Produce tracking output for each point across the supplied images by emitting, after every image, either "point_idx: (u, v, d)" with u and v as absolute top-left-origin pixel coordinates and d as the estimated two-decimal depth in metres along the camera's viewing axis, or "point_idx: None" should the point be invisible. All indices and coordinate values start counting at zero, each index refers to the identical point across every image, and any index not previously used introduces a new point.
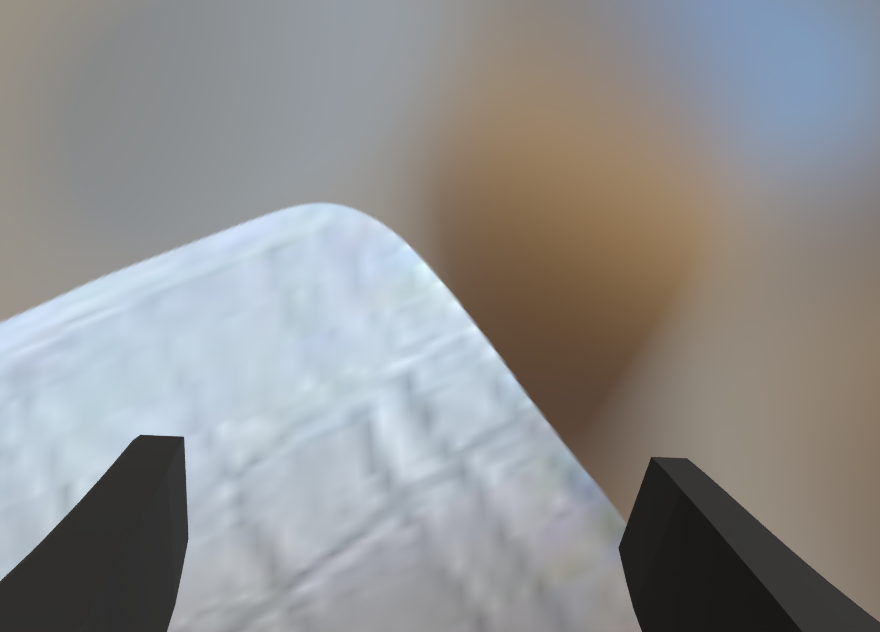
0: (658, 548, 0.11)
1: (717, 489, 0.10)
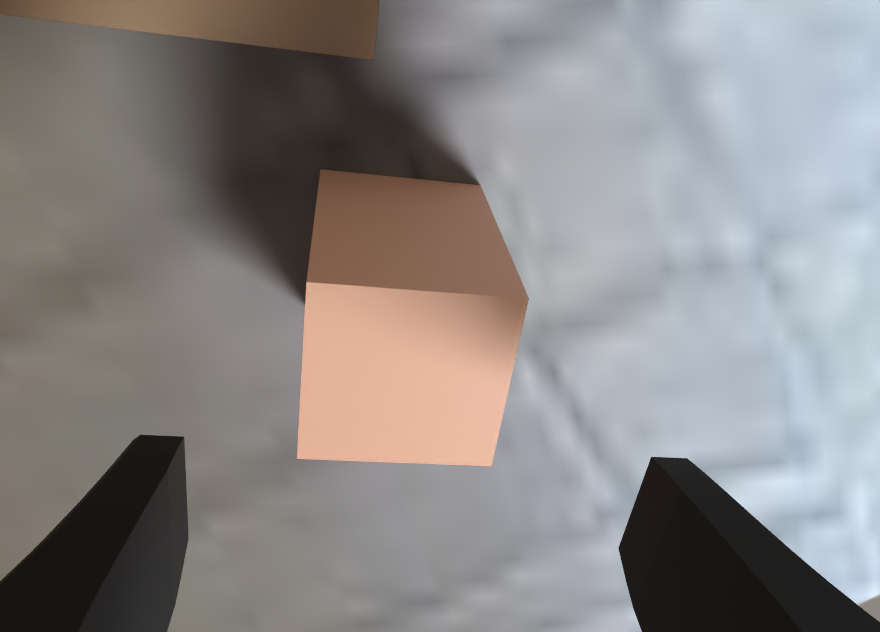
0: (658, 548, 0.11)
1: (717, 489, 0.10)
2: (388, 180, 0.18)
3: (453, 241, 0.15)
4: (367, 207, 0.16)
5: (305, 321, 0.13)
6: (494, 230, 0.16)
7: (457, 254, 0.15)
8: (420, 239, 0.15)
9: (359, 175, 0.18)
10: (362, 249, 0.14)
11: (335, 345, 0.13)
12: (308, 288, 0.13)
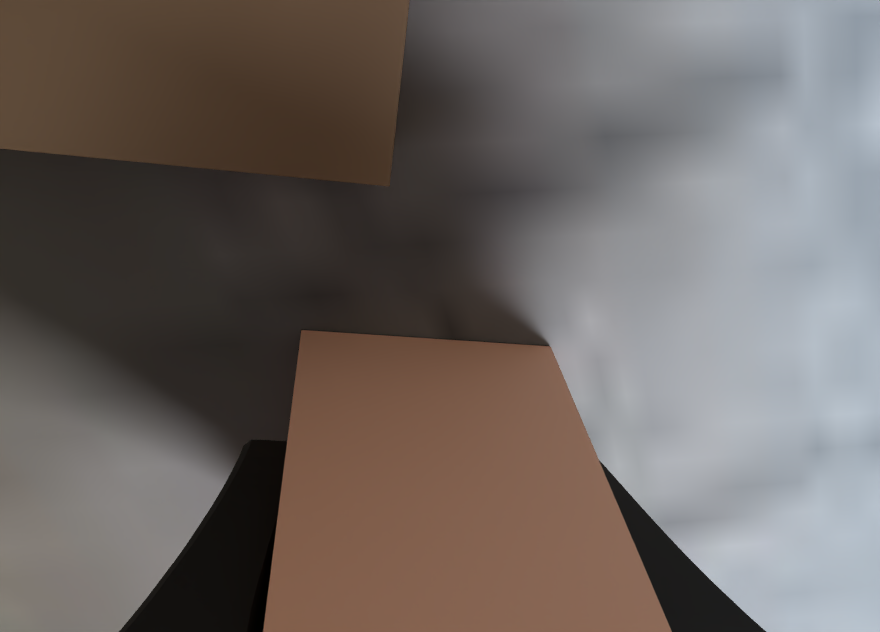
0: None
1: (616, 485, 0.10)
2: (409, 347, 0.11)
3: (528, 509, 0.09)
4: (375, 423, 0.10)
5: None
6: (592, 468, 0.09)
7: (541, 552, 0.08)
8: (472, 509, 0.08)
9: (363, 340, 0.11)
10: (370, 556, 0.08)
11: None
12: None
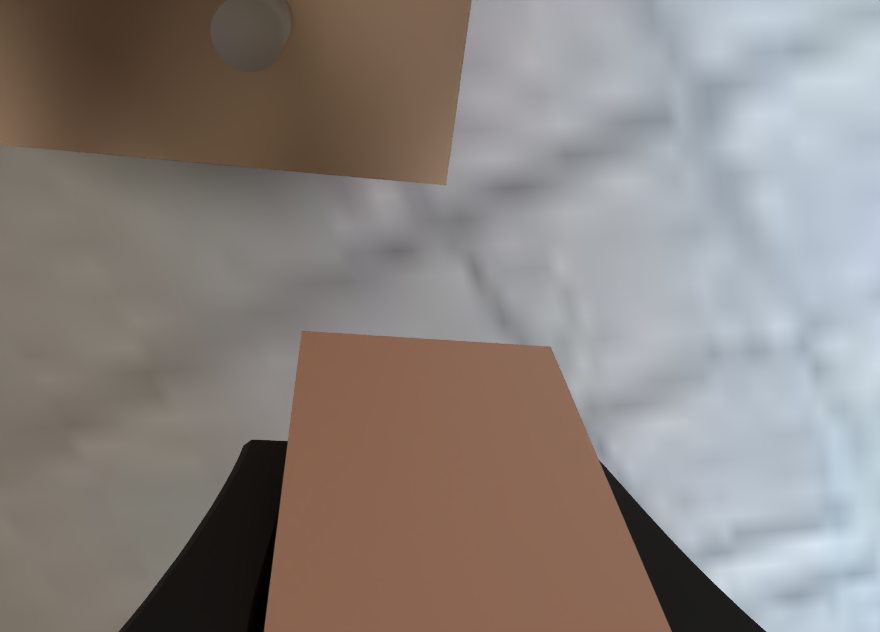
0: None
1: (615, 486, 0.10)
2: (410, 349, 0.11)
3: (529, 510, 0.09)
4: (376, 424, 0.10)
5: None
6: (593, 468, 0.09)
7: (542, 553, 0.08)
8: (472, 511, 0.08)
9: (363, 340, 0.11)
10: (371, 558, 0.08)
11: None
12: None
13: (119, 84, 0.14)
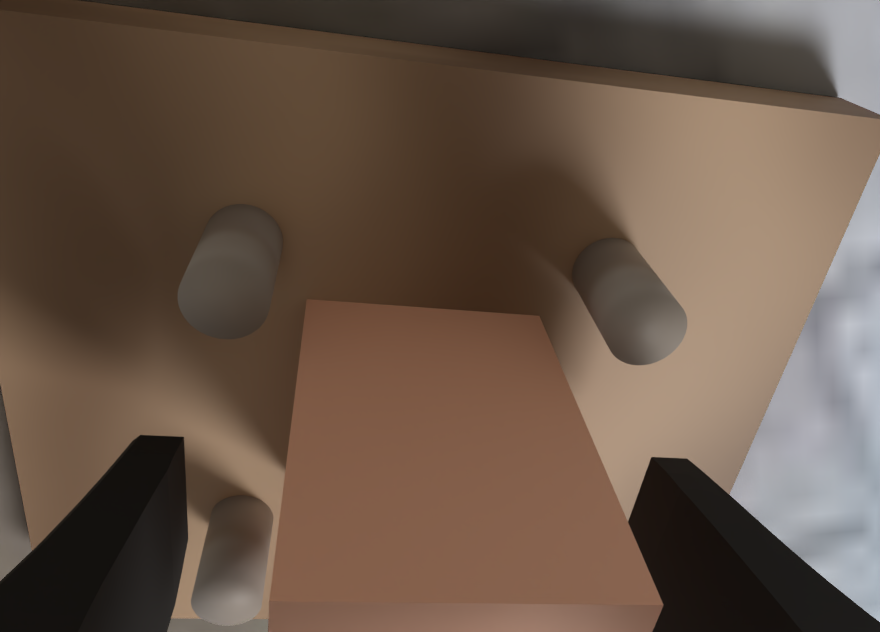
0: (658, 548, 0.11)
1: (717, 489, 0.10)
2: (408, 315, 0.12)
3: (516, 454, 0.09)
4: (375, 380, 0.10)
5: None
6: (575, 419, 0.10)
7: (526, 489, 0.09)
8: (463, 453, 0.09)
9: (364, 308, 0.12)
10: (371, 489, 0.08)
11: None
12: (273, 608, 0.07)
13: None
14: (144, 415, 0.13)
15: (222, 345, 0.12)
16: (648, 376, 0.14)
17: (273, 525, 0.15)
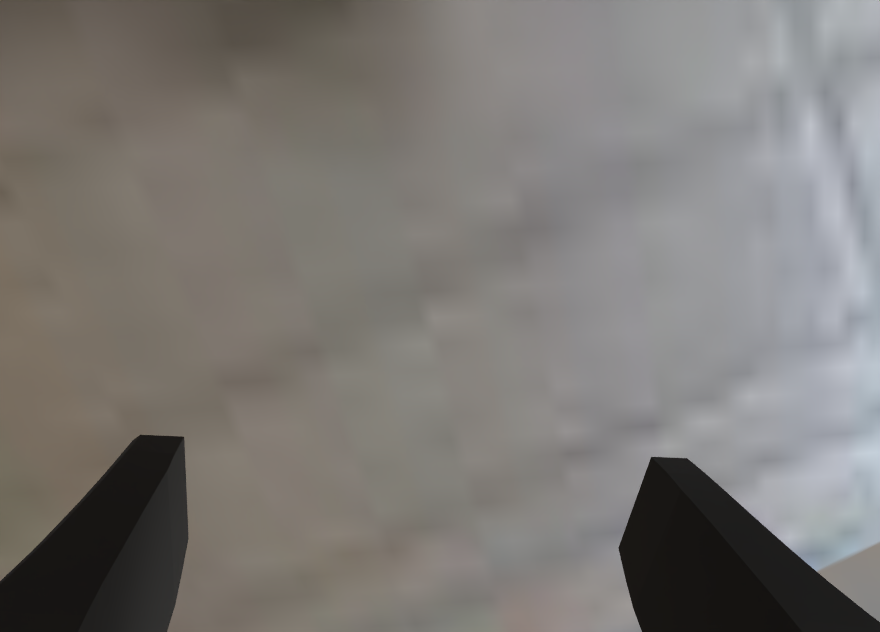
0: (658, 548, 0.11)
1: (717, 489, 0.10)
2: None
3: None
4: None
5: None
6: None
7: None
8: None
9: None
10: None
11: None
12: None
13: None
14: None
15: None
16: None
17: None
